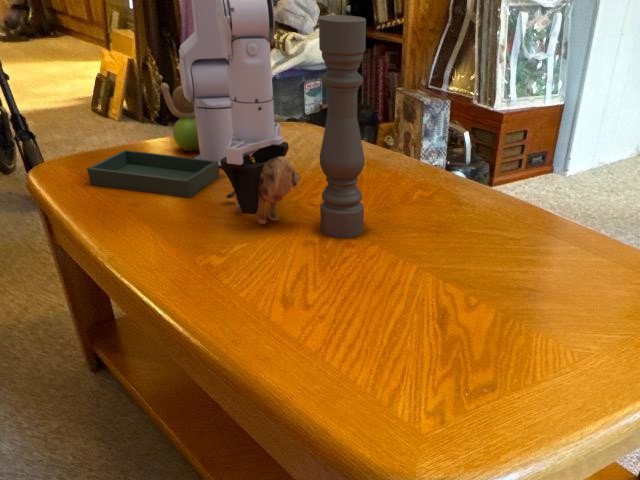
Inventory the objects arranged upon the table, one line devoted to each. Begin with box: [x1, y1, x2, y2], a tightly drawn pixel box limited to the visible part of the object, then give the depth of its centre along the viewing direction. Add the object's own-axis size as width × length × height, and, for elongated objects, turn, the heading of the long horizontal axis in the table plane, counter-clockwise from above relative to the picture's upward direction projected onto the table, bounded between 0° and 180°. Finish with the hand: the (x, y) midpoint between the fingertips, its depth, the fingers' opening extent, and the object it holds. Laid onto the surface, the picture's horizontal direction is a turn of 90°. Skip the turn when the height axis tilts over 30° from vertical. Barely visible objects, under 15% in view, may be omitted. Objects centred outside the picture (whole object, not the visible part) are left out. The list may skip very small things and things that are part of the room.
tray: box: [86, 149, 220, 198], centre depth 110 cm, size 11×17×2 cm, turn 75°
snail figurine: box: [158, 74, 199, 152], centre depth 120 cm, size 5×6×12 cm
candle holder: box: [318, 14, 367, 239], centre depth 89 cm, size 6×6×25 cm
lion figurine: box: [225, 156, 302, 225], centre depth 98 cm, size 15×5×9 cm, turn 47°
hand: (259, 204), depth 99 cm, fingers open, 7 cm apart
